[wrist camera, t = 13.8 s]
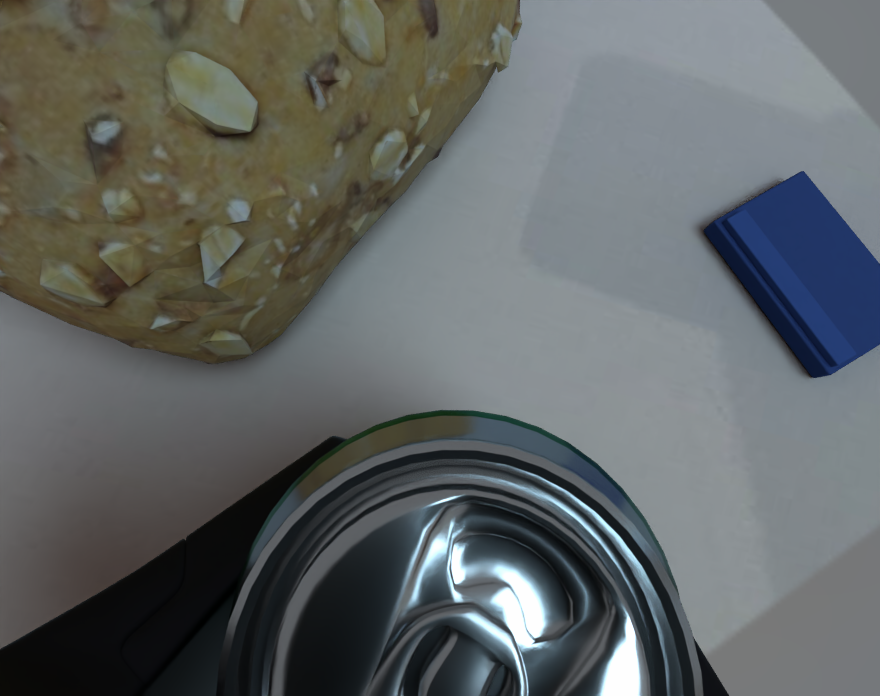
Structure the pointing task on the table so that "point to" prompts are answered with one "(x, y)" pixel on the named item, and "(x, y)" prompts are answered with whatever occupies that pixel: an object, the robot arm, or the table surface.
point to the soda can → (457, 574)
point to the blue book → (804, 272)
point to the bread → (218, 151)
